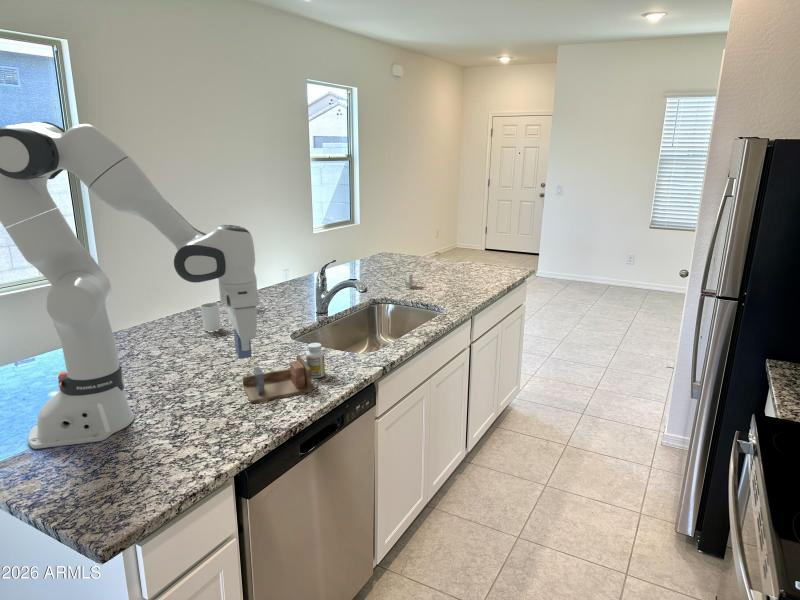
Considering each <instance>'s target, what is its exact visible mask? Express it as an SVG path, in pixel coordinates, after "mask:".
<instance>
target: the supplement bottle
mask: <svg viewBox="0 0 800 600" xmlns="http://www.w3.org/2000/svg"><path fill="white" fill-rule="evenodd" d="M307 350H308V351H306V354H305V363H306V364H307V365H308V366H309V368H310V369H311V379H318V378H319V379H320V378H322V377H324V376H325V374H326V369H325V368H326V366H325V352H324V351H323V350H322V344H321V343H320V342H311V343H309V344H308V345H307Z"/></svg>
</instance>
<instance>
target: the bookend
mask: <svg viewBox="0 0 800 600" xmlns="http://www.w3.org/2000/svg"><path fill="white" fill-rule="evenodd" d="M263 373H264V372H263V371H262V369H261V368H260V366H256V367H253V375H254V380H255V388H256V390H257V392H258V394H259V395H262V394H265V389H264V376H263Z"/></svg>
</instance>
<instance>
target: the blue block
mask: <svg viewBox="0 0 800 600" xmlns="http://www.w3.org/2000/svg"><path fill="white" fill-rule="evenodd" d="M233 334H234V335H233V337H234V349H235V354H236V356H237V357H238V359H239V360H242V359H248V358H252V343H251V340H250V341H249V350H247V351H242V349H241V339H240V337H239V335H238V333H237V332H236V330H235V329H233Z"/></svg>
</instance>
